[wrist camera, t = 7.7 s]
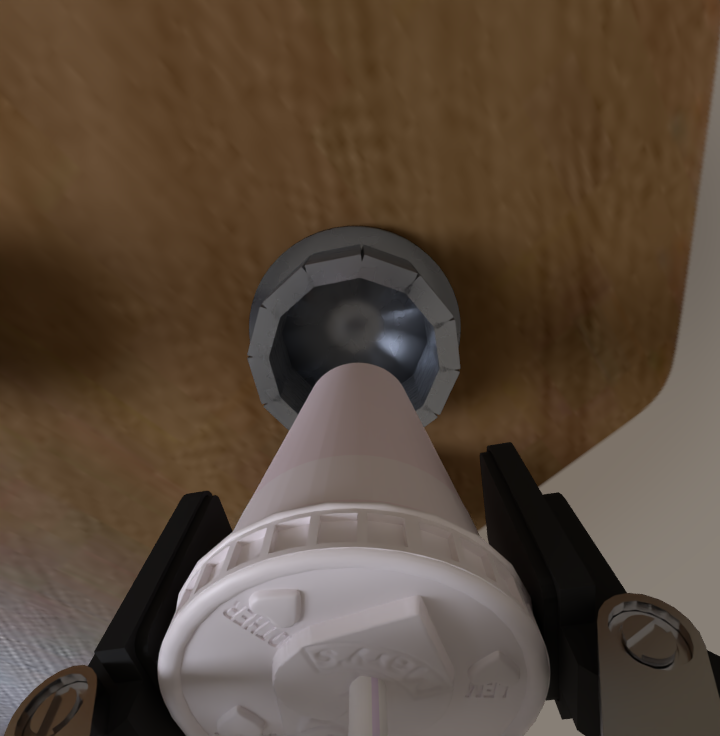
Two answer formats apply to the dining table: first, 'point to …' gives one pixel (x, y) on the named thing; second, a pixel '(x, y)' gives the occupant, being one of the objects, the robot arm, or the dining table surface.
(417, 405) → the ring socket
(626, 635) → the robot arm
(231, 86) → the dining table surface
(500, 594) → the smoothie
